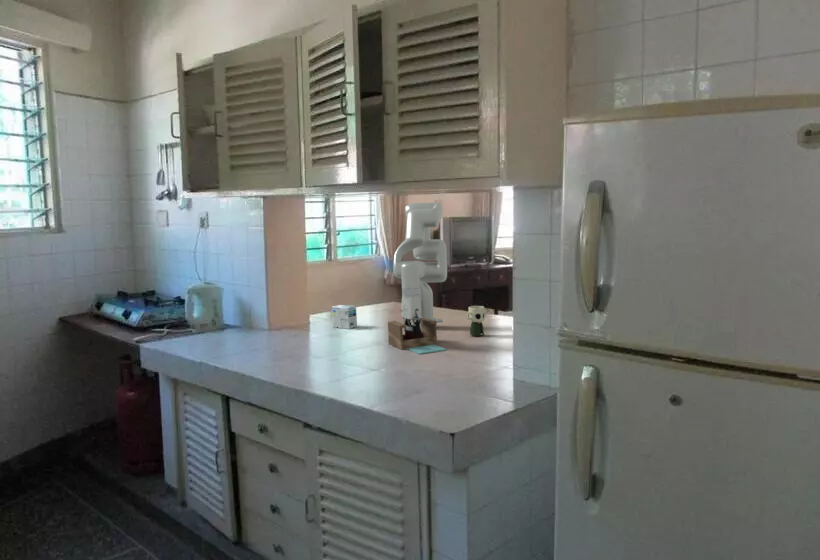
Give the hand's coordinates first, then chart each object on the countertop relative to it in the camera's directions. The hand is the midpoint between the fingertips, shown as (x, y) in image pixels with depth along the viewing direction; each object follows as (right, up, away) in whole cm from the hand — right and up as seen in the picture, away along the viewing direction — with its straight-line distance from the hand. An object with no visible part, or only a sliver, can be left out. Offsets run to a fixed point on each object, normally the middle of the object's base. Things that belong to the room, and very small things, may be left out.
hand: (412, 333), depth 272 cm
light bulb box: (-33, -1, +44) cm, 55 cm away
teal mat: (+6, -6, -11) cm, 14 cm away
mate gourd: (0, -5, +1) cm, 5 cm away
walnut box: (0, -5, +1) cm, 5 cm away
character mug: (+29, -3, +14) cm, 33 cm away
